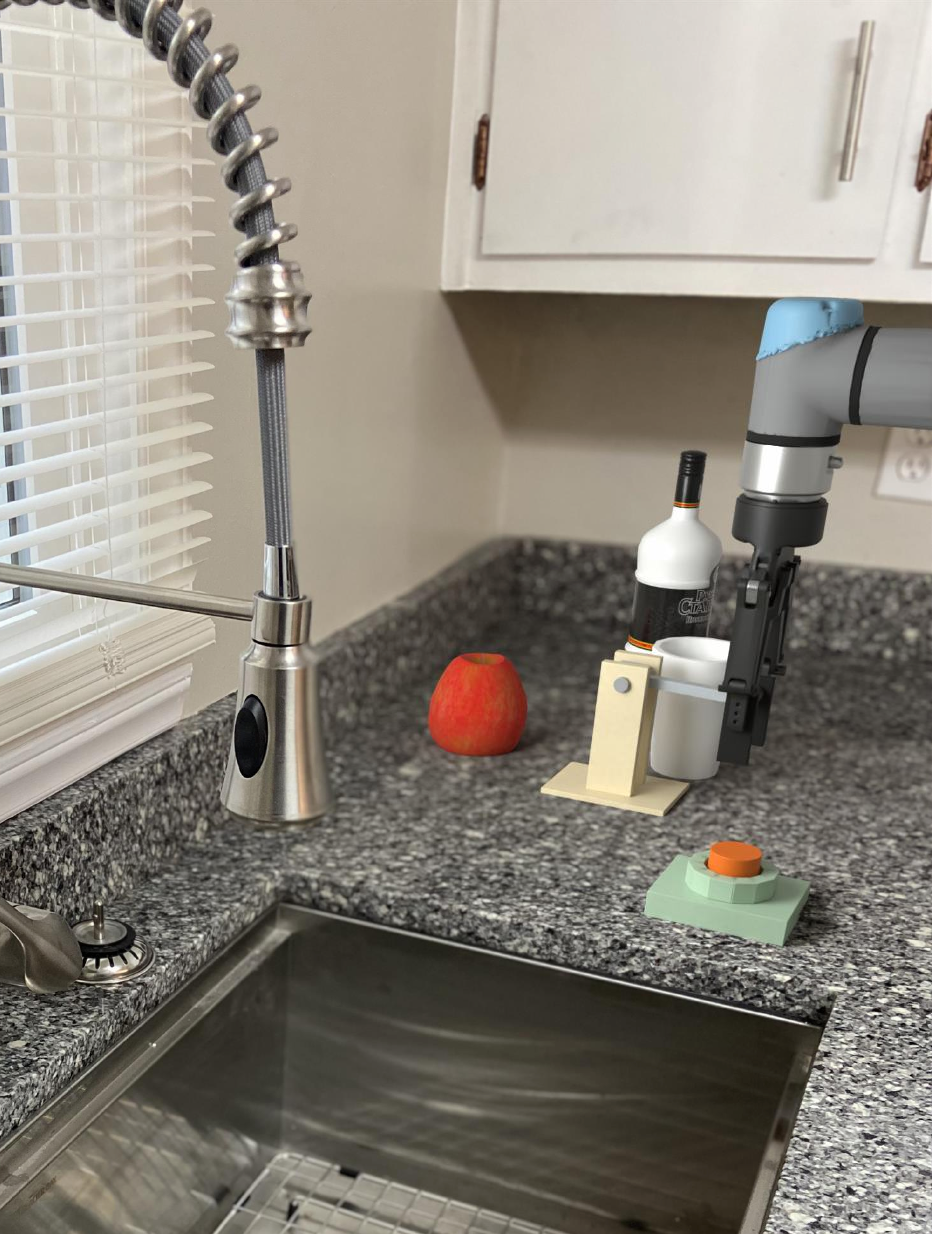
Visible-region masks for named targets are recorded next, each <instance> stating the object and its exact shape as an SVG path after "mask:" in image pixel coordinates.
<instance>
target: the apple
mask: <svg viewBox="0 0 932 1234" xmlns="http://www.w3.org/2000/svg"><path fill="white" fill-rule="evenodd" d="M526 694H527V693H526V691H525V689H524V687H523V683H522V681H521V678H520V675H519V673H518V672H517V669H516V668H515V666H514V664H513V663H512V661H510V660H509V659H508V658H507V657H505V656H504V655H502V654H497V653H483V652H474V653H473V652H472V653H463V654H460V655H458V656H457V657H455V658H453V659H452V660H451V662H450V663H449V664H448V665H447V666H446V668H445V670H444V671H443V673H442V674H441V676H440V678H439V680H438V681H437V684H436V686H435V688H434V691H433V692H432V696H431V697H430V701H429V708H428V709H429V710H428V716H427V724H428V729H429V732H430V736H431V738H432V740H433V742H434V743H435V744H436V745H437V747H439V748H441V749H442V750H444V751H446V752H448V753H451V754H457V755H460V756H466V757H467V756H468V757H496V756H501V755H507V754H510V753H511V752H512V751H514V749H515V748H516V747H517V746H518V743H519V742H520V740H521V738H522V735H523V733H524V730H525V728H526V722H527V715H528V708H529V707H528V698H527V695H526Z"/></svg>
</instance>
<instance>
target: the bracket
mask: <svg viewBox="0 0 932 1234" xmlns="http://www.w3.org/2000/svg"><path fill="white" fill-rule="evenodd" d="M621 660H625V661H630V662H636V663H641V664H646V665H640V664H634V663H627V662H620V661H621ZM662 664H663V656H659V655H652V654H645V653H639V652H632V651H626V650H625V649H617V650H615V652H614V656H613V659H604V660H602V661H601V666H600V673H599V681H598V690H597V697H596V705H595V714H594V720H593V729H592V738H591V745H590V752H589V760H588V764H587V763H581V762H576V761H571V762H569V763H568V764H567V765H566V766H564V768H562V769H561V770H560V771H559V772H558V773H556V774H555V775H554V776H553V777H552V778H550V779H549V780H548V781H547V782H546V783H545V784H544V785H542V786H541V787H540V793H541V794H545V795H550V796H555V797H560V798H565V799H570V800H574V801H581V802H585V803H591V804H596V805H602V806H606V807H611V808H616V809H621V810H626V811H631V812H637V813H643V814H647V815H651V816H658V817H662V818H663V817H664V816H665V815H666V814H667V813H668V812H669V811H670V809H671V808H672V807H674V806H675V804H677V802H678V801H679V800H680V799H681V798H682V797H683V796H684V794H685V793H686V792H687V791H688V790H689V789H690V783H689V782H685V781H679V780H673V779H668V778H662V777H657V776H651V775H647V774H648V766H649V759H650V754H651V739H652V732H653V726H654V719H655V712H656V705H657V698H658V691H659V690H658V689H652V688H648V685H649V678H650V674H651V675H656V676H661V671H662ZM647 665H650V666H647Z"/></svg>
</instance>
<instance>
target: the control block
mask: <svg viewBox="0 0 932 1234" xmlns="http://www.w3.org/2000/svg"><path fill="white" fill-rule="evenodd" d="M709 854H710V849H707V850H703V851H699V852H696V853H693V854H692V856H687V855H683V854H680V853H679V854H677V855H676V856H675V857H674V858H673V860H672V861H671V862H670V863H669V864H668V866H666V868H665V869H664V870H663V871H662V873H661V874H660V876H658V878H657V879H656V880H655V881H654V882H653V883H652V885H651V886H650V887H649V888H648V889H647V891H646V898H645V904H644V911H643V915H644V916H646V917H647V916H648V917H652V918H656V919H660V920H664V921H670V922H674V923H678V924H682V925H687V926H691V927H695V928H700V929H704V930H709V931H713V932H718V933H722V934H725V935H726V934H727V935H730V936H735V937H739V938H744V939H747V940H752V941H757V942H761V943H765V944H770V945H774V946H778V947H784V945H785V943H786V942H787V940H788V938H789V936H790V935H791V933H792V932H793V929H794V928H795V926H796V925H797V923H798V921H799V919H800V918H801V916H802V914H801V911H802V910H803V908H804V907H805V904H806V903H807V901H808V899H809V895H810V891H811V885H812V881H808V880H803V879H800V878H794V877H790V876H784V875H780V874H781V873H780V870H779V869H778V867H777V866H776V865H775V864H774V862H772V861H770V860H768V859H766V858H764V857H762V859H761V864H760V870H759V874H758V876H754V877H751V878H737V877H729V876H725V875H720V874H717V873H715V872H713V871H711V870H709V869H708V868H707V866H708V860H709Z"/></svg>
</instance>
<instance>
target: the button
mask: <svg viewBox="0 0 932 1234" xmlns="http://www.w3.org/2000/svg"><path fill="white" fill-rule="evenodd" d="M709 850H710V854H709V860H708V866H707V868H708V869H709V870H711V871H713V872H715V873H717V874H720V875H725V876H729V877H737V878H751V877H754V876H758V874H759V870H760V864H761V859H762V858H763V852H762V850H761V849H759V847H757V846H754V845H752V844H750V843H746V842H741V841H733V840H732V841H730V840H727V841H726V840H725V841H724V840H723V841H718V842H715V843H713V844H712V845H711V846H710V849H709Z"/></svg>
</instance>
